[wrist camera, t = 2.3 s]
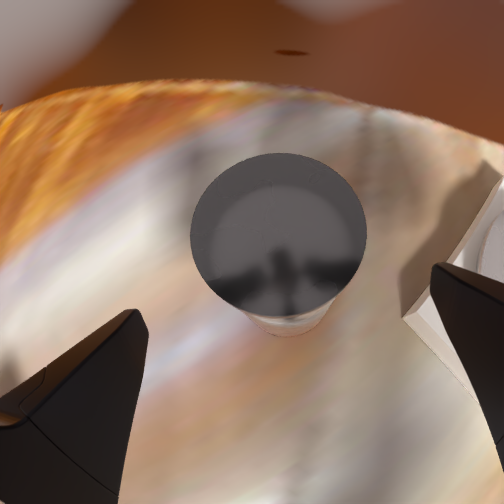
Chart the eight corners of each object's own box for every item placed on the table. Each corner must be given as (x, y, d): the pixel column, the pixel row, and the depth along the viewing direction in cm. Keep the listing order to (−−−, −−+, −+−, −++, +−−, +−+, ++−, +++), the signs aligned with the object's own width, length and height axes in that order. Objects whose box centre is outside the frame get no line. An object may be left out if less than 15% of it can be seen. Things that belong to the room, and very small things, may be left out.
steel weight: (348, 295, 18) (400, 227, 8) (284, 357, 17) (271, 356, 8) (288, 237, 19) (279, 129, 10) (226, 293, 19) (159, 225, 9)
